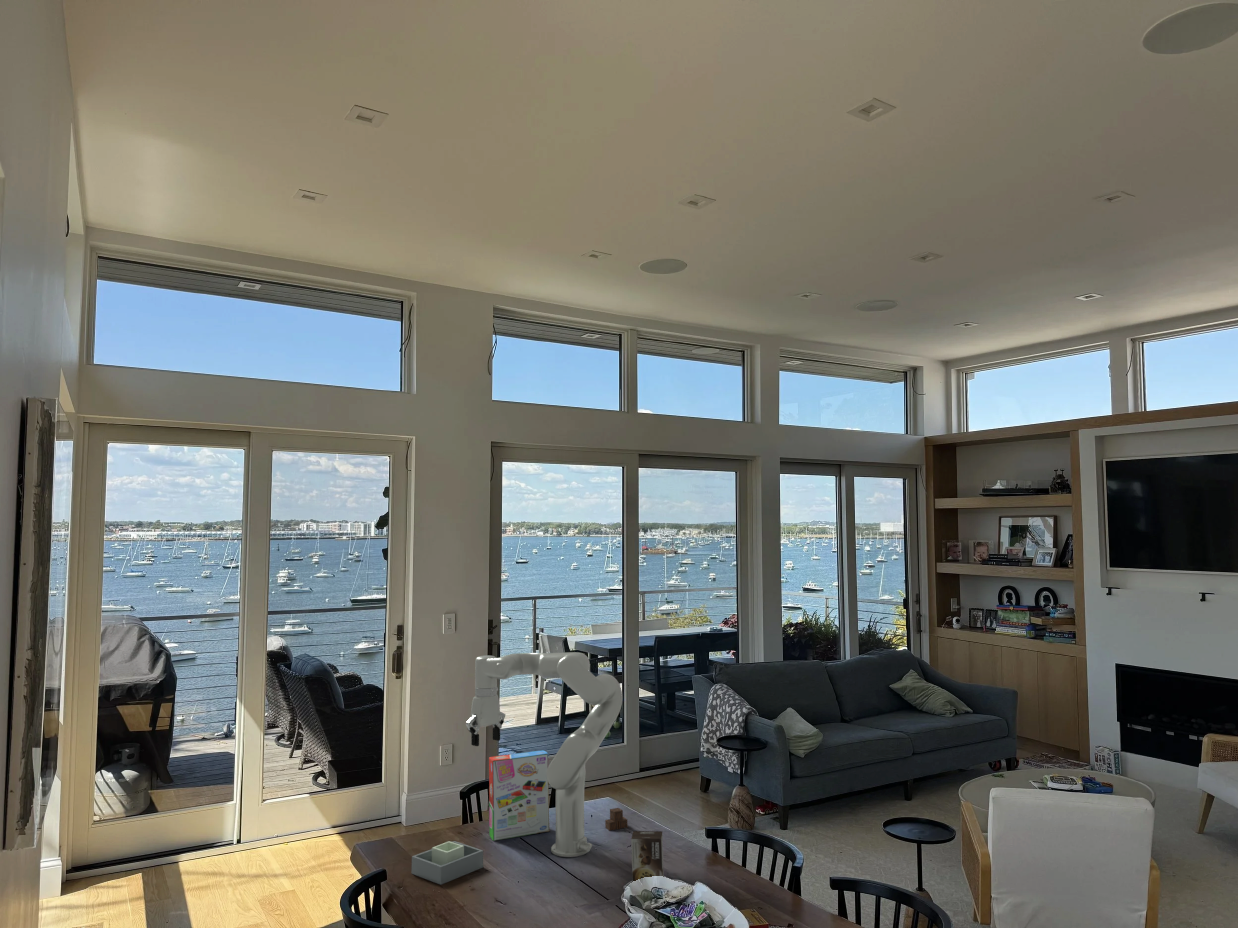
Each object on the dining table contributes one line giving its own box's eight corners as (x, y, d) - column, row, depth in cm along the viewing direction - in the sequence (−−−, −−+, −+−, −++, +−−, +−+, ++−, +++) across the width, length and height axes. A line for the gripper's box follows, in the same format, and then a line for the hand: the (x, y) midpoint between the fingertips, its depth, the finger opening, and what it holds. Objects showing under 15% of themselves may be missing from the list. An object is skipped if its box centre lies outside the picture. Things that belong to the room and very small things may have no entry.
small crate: (463, 866, 264) (463, 845, 264) (446, 874, 258) (446, 852, 259) (448, 862, 268) (449, 840, 269) (431, 868, 263) (431, 847, 263)
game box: (544, 827, 302) (544, 749, 304) (550, 831, 296) (549, 752, 299) (488, 836, 293) (488, 756, 296) (492, 841, 288) (492, 759, 291)
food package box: (664, 886, 248) (663, 830, 250) (663, 896, 242) (662, 838, 243) (633, 886, 249) (632, 829, 251) (631, 895, 243) (631, 837, 244)
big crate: (483, 868, 265) (483, 850, 266) (440, 885, 252) (440, 866, 253) (454, 858, 274) (454, 840, 275) (411, 874, 261) (411, 856, 261)
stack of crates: (608, 840, 289) (608, 820, 290) (591, 827, 302) (590, 807, 303) (647, 833, 295) (646, 813, 296) (628, 820, 309) (628, 801, 310)
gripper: (497, 687, 300) (497, 736, 299) (459, 694, 287) (459, 746, 285) (511, 689, 295) (511, 739, 294) (474, 697, 282) (474, 749, 281)
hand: (485, 742), depth 290 cm, fingers open, 9 cm apart
